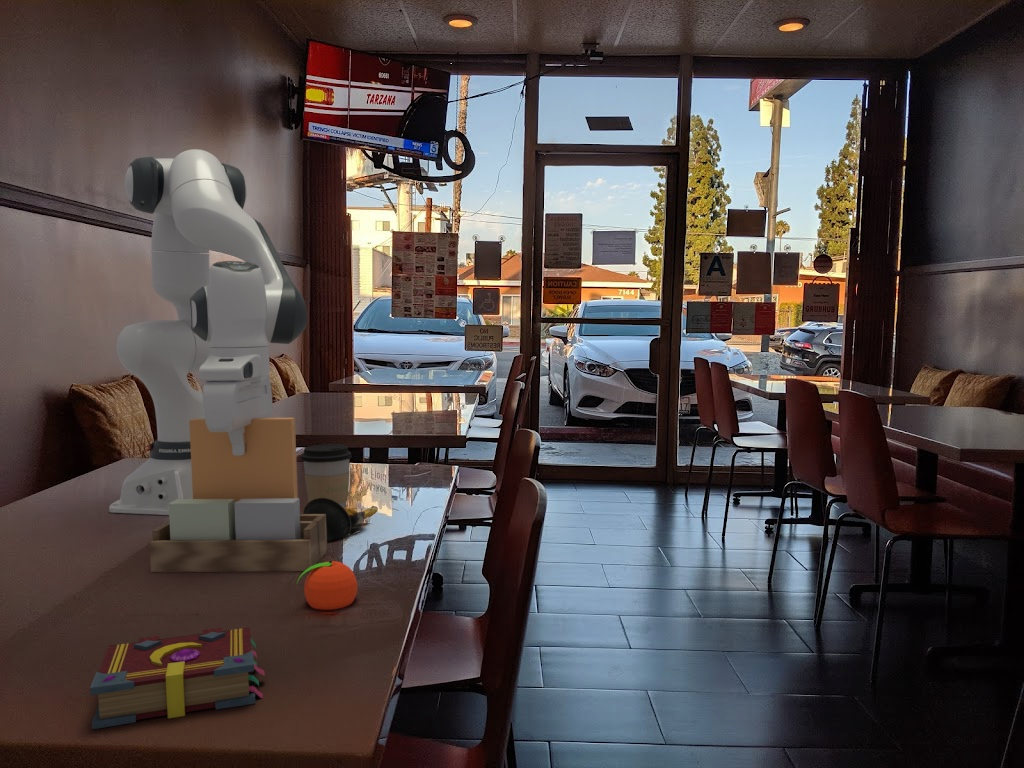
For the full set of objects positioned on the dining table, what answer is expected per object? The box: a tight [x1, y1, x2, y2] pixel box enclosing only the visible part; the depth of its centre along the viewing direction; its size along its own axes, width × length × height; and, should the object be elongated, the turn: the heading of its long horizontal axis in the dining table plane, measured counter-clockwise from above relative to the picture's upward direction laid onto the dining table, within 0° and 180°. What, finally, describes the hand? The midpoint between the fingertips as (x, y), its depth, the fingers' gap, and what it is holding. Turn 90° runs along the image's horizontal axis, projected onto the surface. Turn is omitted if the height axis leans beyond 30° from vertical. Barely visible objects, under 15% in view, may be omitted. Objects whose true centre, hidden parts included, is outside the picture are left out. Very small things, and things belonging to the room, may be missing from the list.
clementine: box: [296, 560, 358, 616], centre depth 107 cm, size 8×7×7 cm
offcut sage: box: [168, 499, 236, 540], centre depth 124 cm, size 9×3×10 cm, turn 89°
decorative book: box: [89, 627, 266, 730], centre depth 86 cm, size 11×16×5 cm
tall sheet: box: [189, 417, 299, 503], centre depth 128 cm, size 16×2×22 cm, turn 89°
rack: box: [149, 513, 328, 573], centre depth 126 cm, size 24×10×8 cm, turn 89°
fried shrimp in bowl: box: [302, 498, 379, 543], centre depth 144 cm, size 9×11×18 cm
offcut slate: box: [234, 497, 301, 540], centre depth 124 cm, size 9×3×10 cm, turn 89°
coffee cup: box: [299, 443, 353, 508], centre depth 152 cm, size 9×9×15 cm
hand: (243, 452), depth 128 cm, fingers closed on tall sheet, 2 cm apart
